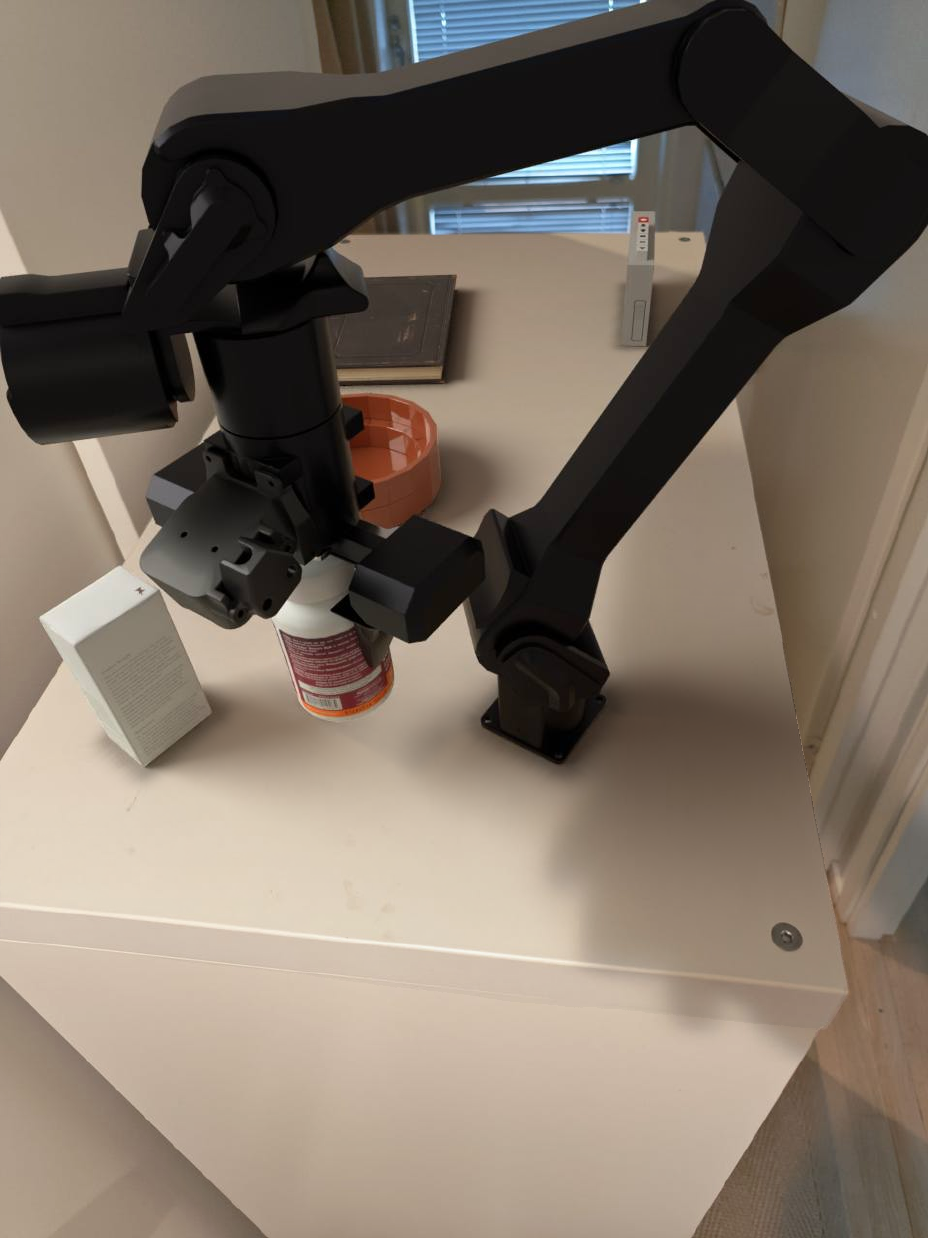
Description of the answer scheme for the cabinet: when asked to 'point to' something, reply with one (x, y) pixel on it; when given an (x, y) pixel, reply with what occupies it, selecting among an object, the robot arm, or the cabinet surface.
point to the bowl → (395, 457)
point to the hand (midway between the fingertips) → (333, 642)
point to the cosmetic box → (129, 663)
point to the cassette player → (639, 278)
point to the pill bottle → (328, 647)
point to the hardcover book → (397, 332)
